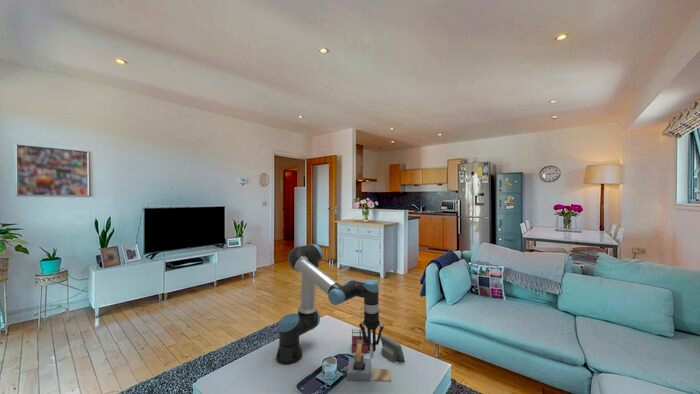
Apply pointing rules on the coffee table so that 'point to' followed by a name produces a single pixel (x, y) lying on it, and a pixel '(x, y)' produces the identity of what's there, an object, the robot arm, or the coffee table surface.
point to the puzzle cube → (358, 336)
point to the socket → (359, 374)
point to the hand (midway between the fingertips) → (371, 357)
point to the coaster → (381, 375)
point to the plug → (359, 363)
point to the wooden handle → (359, 350)
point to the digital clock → (391, 349)
